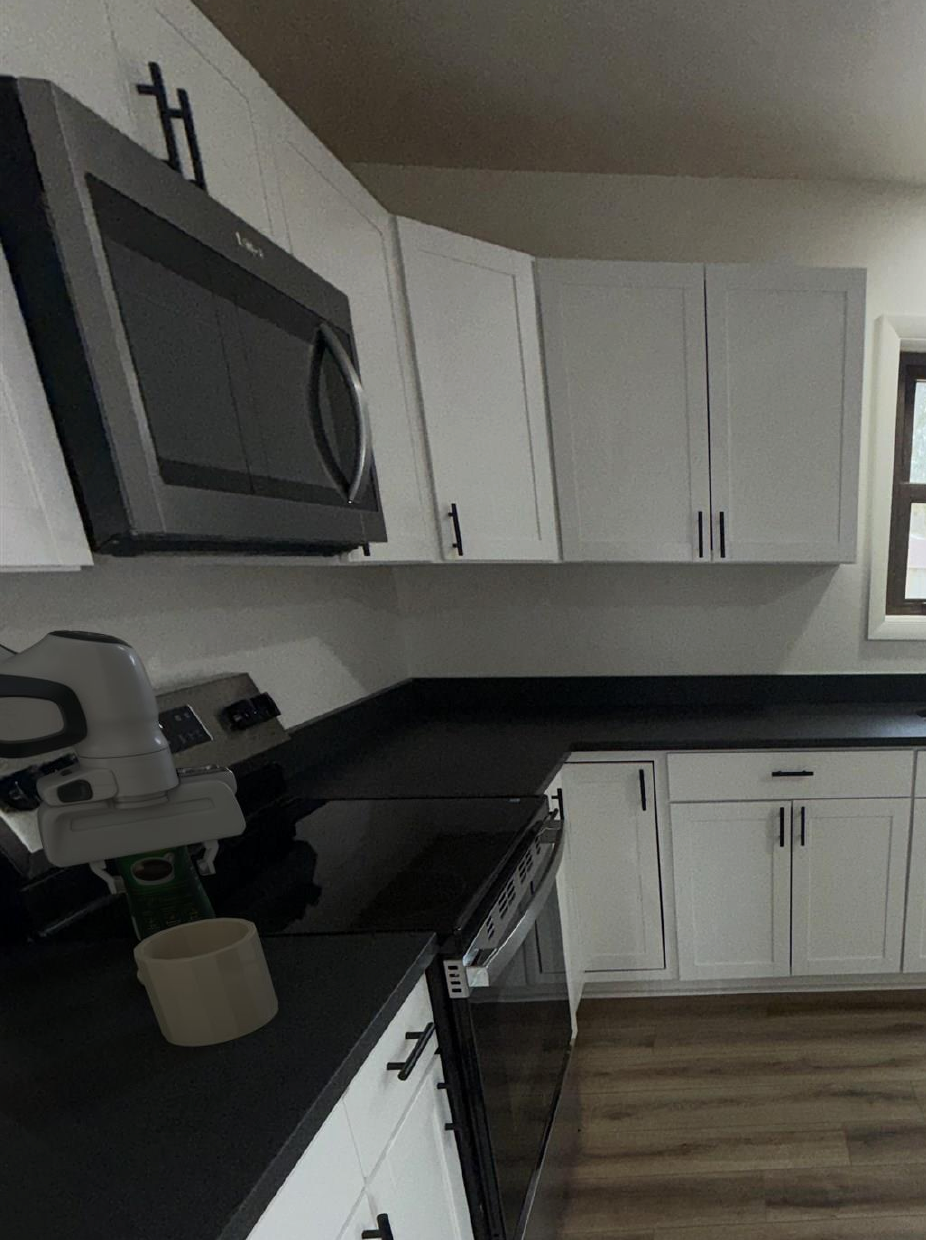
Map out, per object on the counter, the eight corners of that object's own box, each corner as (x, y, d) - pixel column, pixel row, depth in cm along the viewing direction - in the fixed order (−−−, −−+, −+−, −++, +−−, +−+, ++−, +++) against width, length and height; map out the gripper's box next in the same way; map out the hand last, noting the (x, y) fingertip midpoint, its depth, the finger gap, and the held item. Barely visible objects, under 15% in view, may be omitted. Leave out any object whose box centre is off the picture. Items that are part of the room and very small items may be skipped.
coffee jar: (218, 916, 126) (181, 796, 118) (217, 935, 119) (178, 810, 112) (140, 930, 121) (96, 807, 113) (135, 951, 115) (89, 822, 107)
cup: (197, 1057, 91) (167, 971, 87) (143, 1029, 96) (112, 947, 92) (298, 1010, 100) (276, 931, 96) (244, 987, 106) (221, 910, 101)
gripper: (223, 757, 108) (249, 857, 113) (18, 783, 94) (59, 895, 100) (237, 765, 104) (263, 869, 109) (25, 794, 90) (67, 911, 96)
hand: (164, 882), depth 105 cm, fingers open, 8 cm apart
